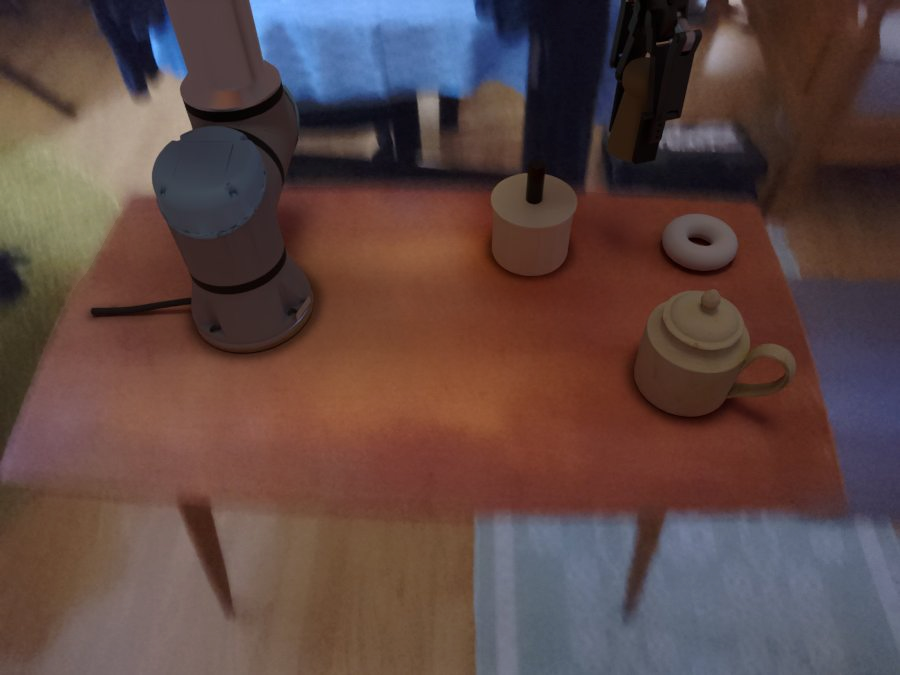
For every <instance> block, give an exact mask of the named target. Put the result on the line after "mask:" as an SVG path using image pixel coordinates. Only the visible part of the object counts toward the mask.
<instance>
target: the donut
mask: <svg viewBox="0 0 900 675" xmlns="http://www.w3.org/2000/svg"><path fill="white" fill-rule="evenodd" d="M694 238H695V239H701V240H704V241H706V242H707V243H709V245H700V244H698V243H694V242H692V241H691V240H689V239H694ZM661 241H662V247H663V249H664V251H665V254H666V255H667V256H668V257H669V258H670V259H671V261H673V262H674V263H676V264H678V265H679V266H682V267H683V268H686V269H689V270H692V271H700V272H706V271H707V272H708V271H715V270H716V271H717V270H719V269H721V268H723V267H725V266H727V265H729V263H731V261H733V260H734V259H735V257H736V254H737V253H738V249H739V243H738V237H737V235H736V233H735V232H734V229H733V228H731V227H730V225H729V224H727V223H726V222H725V221H723V220H721V219H719V218H718V217H715V216H712V215H709V214H704V213H687V214H683V215H680V216H677V217H675V218H674V219H673V220H671V221H670V222H669V223H668V224H666V226H665V228H664V230H663V231H662V234H661Z"/></svg>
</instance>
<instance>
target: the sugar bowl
mask: <svg viewBox="0 0 900 675" xmlns="http://www.w3.org/2000/svg"><path fill="white" fill-rule="evenodd" d="M762 358H763V359H764V358H765V359H766V358H767V359H772V360H774V361H776V362H777V363H779V365H781V366H782V368H783V370H784V374H783V375H782V376H781V377H779V378H777V379H776V380H771V381H769V382H763V383H762V382H761V383H746V382H745V383H744V382H736V380H737V378H738V377H739V376H740V374H741V373H742V372H743V371H745V370H746V369H748V367H749V366H751V364H753V363H754V362H755V361H756V360H758V359H762ZM795 359H796V358H795V356H794V355H793V354H792V352H791V351H790V350H789V349H788V348H786V347H784V346H782V345H780V344H778V343H763V344H759V345H758V346H756V347H754V348H753V349H751V336H750V334H749V331H748V328H747V326H746V325H745V321H744V318H743V316H742V314H741V313H740V310H739V309H738V308H737V307H736V306H735V304H733V303H732V302H731V301H729V300H727V299H726V298H724V297H722V296H721V295H720V292H719V290H717V289H714V288H711V289H709V290H708V289H707V290H706V291H704V290H684V291H682V292H678V293H676V294H674V295H672V296H671V297H670V298H668V300H666V301H664V302H661V303H659V304H658V305H657V306H656V307H655V308H654V309H653V310H652V311H651V313H650V314H649V316H648V318H647V321H646V324H645V327H644V330H643V332H642V336H641V340H640V343H639V346H638V351H637V355H636V359H635V363H634V367H633V378H634V382H635V385H636V388H637V389H638V391H639V393H640V394H641V395H642V396H643V398H645V399H646V401H648V402H649V403H650V404H651V405H653V406H654V407H656V408H657V409H660V411H664V412H665V413H668V414H671V415H675V416H678V417H679V416H680V417H687V418H689V417H693V418H694V417H700V416H705V415H708V414H710V413H712V412H714V411H716V410H717V409H719V408H720V407H721V406H722V405H723V404H724V402H725V401H726V399H732V398H763V397H768V396H773V395H775V394H777V393H778V394H779V392H782V391H783V390H784V389H786V388H787V387H788V386H789V385H790V384H791V383H792V382H793V380H794V378H795V375H796V372H797V362H796V360H795Z"/></svg>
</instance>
